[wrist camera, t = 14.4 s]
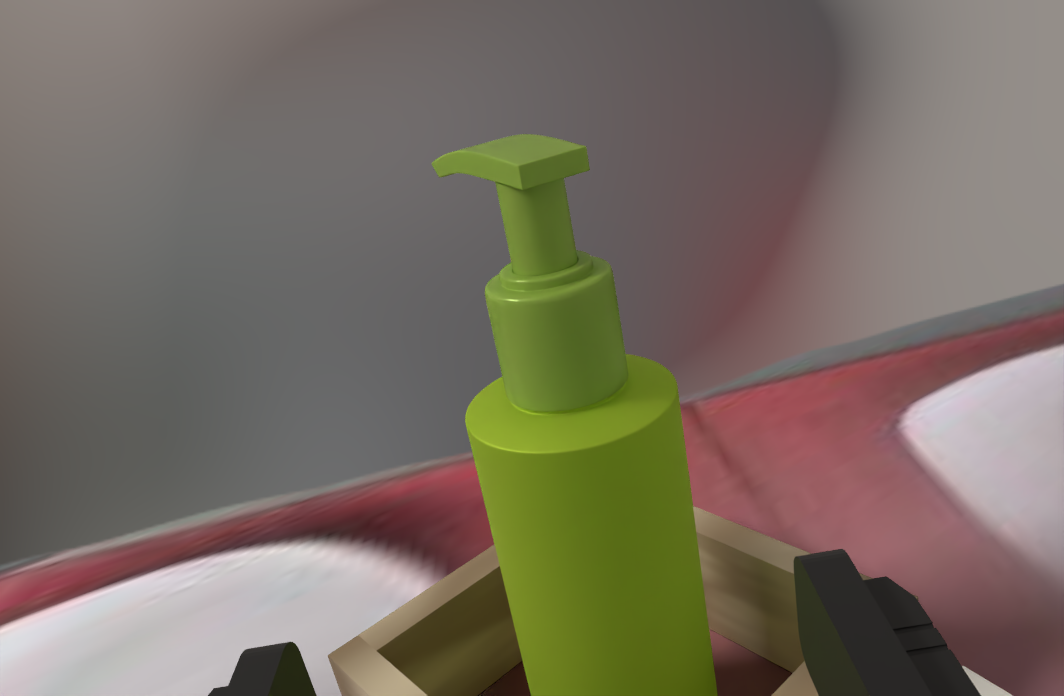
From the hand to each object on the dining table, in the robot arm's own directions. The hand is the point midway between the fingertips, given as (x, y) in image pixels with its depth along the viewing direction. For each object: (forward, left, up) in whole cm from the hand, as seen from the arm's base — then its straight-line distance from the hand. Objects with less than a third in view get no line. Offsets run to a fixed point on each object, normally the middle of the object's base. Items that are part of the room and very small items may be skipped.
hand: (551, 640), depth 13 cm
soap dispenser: (-8, +7, -14) cm, 18 cm away
